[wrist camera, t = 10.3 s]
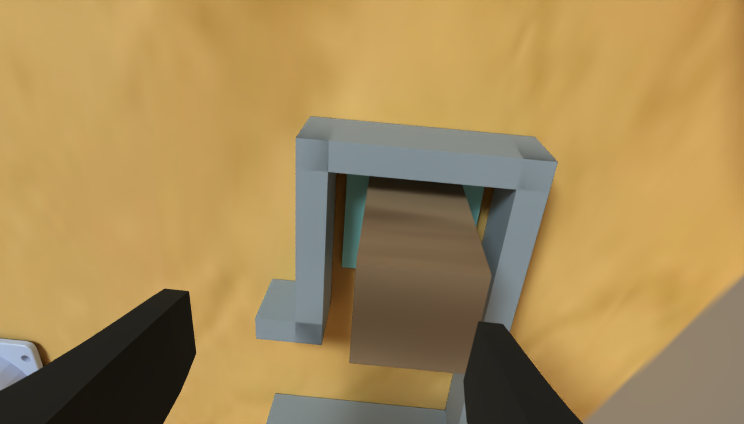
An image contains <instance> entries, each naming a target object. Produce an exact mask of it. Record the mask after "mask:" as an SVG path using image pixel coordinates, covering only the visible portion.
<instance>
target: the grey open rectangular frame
mask: <svg viewBox="0 0 744 424" xmlns="http://www.w3.org/2000/svg"><path fill="white" fill-rule="evenodd" d="M557 163H558V162H557V161H556V159H555V158H554V157H553V156H552V155H551V154H550V153H549V152H548V151H547V150H546V149H545V147H544V146H543V145H542V144H541V143H540V142H539V141H538V140H537V139H536V138H535V137H530V136H519V135H508V134H498V133H487V132H476V131H465V130H454V129H443V128H432V127H422V126H411V125H400V124H389V123H378V122H367V121H356V120H345V119H335V118H324V117H313V116H310V118H309V119H308V121H307V122H306V124H305V125H304V127H303V128H302V129H301V131H300V132H299V134H298V135H297V137H296V281H289V280H279V279H272V281H271V283H270V285H269V288H268V290H267V292H266V295H265V297H264V299H263V302H262V304H261V306H260V308H259V311H258V313H257V315H256V318H255V322H256V339H265V340H276V341H286V342H296V343H306V344H316V345H322V341H323V336H324V331H325V327H326V322H327V317H328V313H329V308H330V303H331V281H332V260H333V238H334V216H335V195H336V173H344V174H355V175H366V176H377V177H387V178H398V179H409V180H419V181H430V182H441V183H451V184H462V185H473V186H484V187H494V191H493V196H492V200H491V205H490V209H489V214H488V218H487V223H486V227H485V232H484V236H483V241H482V247H483V250H484V253H485V256H486V260H487V263H488V266H489V269H490V272H491V275H492V276H491V281H490V285H489V289H488V293H487V298H486V302H485V306H484V310H483V315H482V319H481V322H491V323H500V324H504V326H505V327H506V328H507V330H508V331H509V332H510V329H511V325H512V322H513V318H514V315H515V311H516V308H517V304H518V301H519V297H520V294H521V290H522V287H523V283H524V280H525V276H526V273H527V269H528V265H529V262H530V258H531V255H532V251H533V248H534V244H535V241H536V237H537V234H538V230H539V227H540V223H541V220H542V216H543V213H544V209H545V206H546V202H547V198H548V195H549V191H550V188H551V184H552V181H553V177H554V174H555V170H556V167H557ZM464 376H465V374H459V373H453V377H452V381H451V386H450V390H449V395H448V399H447V404H446V408H445V410H437V409H427V408H417V407H407V406H397V405H387V404H376V403H366V402H356V401H346V400H336V399H326V398H316V397H306V396H296V395H286V394H276V393H275V396H274V400H273V403H272V406H271V410H270V413H269V416H268V419H267V423H266V424H467V419H466V409H465V397H464V384H463V380H464Z"/></svg>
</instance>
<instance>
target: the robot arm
mask: <svg viewBox="0 0 744 424" xmlns="http://www.w3.org/2000/svg"><path fill="white" fill-rule="evenodd" d="M195 355H196V347H195V339H194V330H193V322H192V313H191V305H190V296H189V291H182V290H172V289H163V290H162V291H160V292H159V293H157V294H155V295H154V296H152V297H151V298H149V299H148V300H146V301H145V302H143V303H142V304H140V305H139V306H137V307H136V308H135V309H133V310H132V311H130V312H129V313H127V314H126V315H124V316H123V317H121V318H120V319H118V320H117V321H115V322H114V323H112V324H111V325H109V326H108V327H106V328H105V329H103V330H102V331H100V332H99V333H97V334H96V335H94V336H92V337H91V338H89V339H88V340H86V341H85V342H83V343H82V344H80V345H78V346H77V347H75V348H73V349H72V350H70V351H68V352H67V353H65V354H63V355H62V356H60V357H59V358H57V359H55V360H54V361H52V362H50V363H49V364H47V365H45V366H44V367H43V365H42V362H41V359H40V356H39V353H38V350H37V348H36V346H35V345H34V344H33V343H31V342H28V341H21V340H11V339H0V424H163V423H164V421H165V419H166V417H167V416H168V414H169V412H170V410H171V408H172V407H173V405H174V403H175V401H176V399H177V397H178V396H179V394H180V392H181V390H182V387H183V385H184V382H185V380H186V378H187V375H188V373H189V370H190V368H191V365H192V363H193V360H194V358H195ZM463 384H464V397H465V409H466V419H467V424H583V423H582V422H581V421H580V420H579V419H578V418H577V417H576V416H575V414H574V413H573V412H572V411H571V410H570V409H569V408H568V406H567V405H566V404H565V403H564V402H563V401H562V399H561V398H560V397H559V396H558V394H557V393H556V392H555V391H554V390H553V388H552V387H551V386H550V385H549V383H548V382H547V381H546V380H545V378H544V377H543V376H542V375H541V373H540V372H539V371H538V369H537V368H536V367H535V366H534V364H533V363H532V362H531V360H530V359H529V358H528V356H527V355H526V354H525V352H524V351H523V350H522V348H521V347H520V346H519V344H518V343H517V342H516V340H515V339H514V338H513V336H512V335H511V334H510V332H509V331H508V330H507V328H506V327H505V326H504V324H500V323H491V322H481V321H478V325H477V328H476V332H475V336H474V340H473V344H472V348H471V352H470V356H469V360H468V364H467V368H466V372H465V376H464V380H463Z"/></svg>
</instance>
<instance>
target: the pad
mask: <svg viewBox="0 0 744 424" xmlns="http://www.w3.org/2000/svg"><path fill="white" fill-rule="evenodd" d="M368 182H369V176H366V175H355V174H347V186H346V203H345V220H344V238H343V255H342V267H343V268H354V269H356V261H357V254H358V248H359V241H360V235H361V228H362V222H363V215H364V209H365V202H366V195H367V189H368ZM484 188H485V187H484V186H473V185H463V189H464V192H465V195H466V198H467V201H468V204H469V207H470V210H471V213H472V216H473V219H474V223H475V226H477V221H478V216H479V211H480V207H481V202H482V197H483V192H484Z"/></svg>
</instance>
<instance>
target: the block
mask: <svg viewBox="0 0 744 424" xmlns="http://www.w3.org/2000/svg"><path fill="white" fill-rule="evenodd" d="M491 276H492V275H491V272H490V269H489V266H488V263H487V260H486V256H485V253H484V250H483V247H482V244H481V241H480V238H479V235H478V232H477V229H476V226H475V223H474V219H473V216H472V213H471V210H470V207H469V204H468V201H467V198H466V195H465V192H464V189H463V185H462V184H451V183H441V182H430V181H419V180H409V179H398V178H387V177H377V176H369V182H368V189H367V195H366V202H365V209H364V215H363V222H362V228H361V235H360V241H359V248H358V254H357V261H356V272H355V287H354V301H353V316H352V330H351V345H350V360H349V363H353V364H364V365H375V366H385V367H396V368H406V369H417V370H428V371H438V372H449V373H459V374H465V372H466V368H467V364H468V360H469V356H470V352H471V348H472V344H473V340H474V336H475V332H476V328H477V325H478V321H481V319H482V315H483V310H484V306H485V302H486V298H487V293H488V289H489V285H490V281H491Z"/></svg>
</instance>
